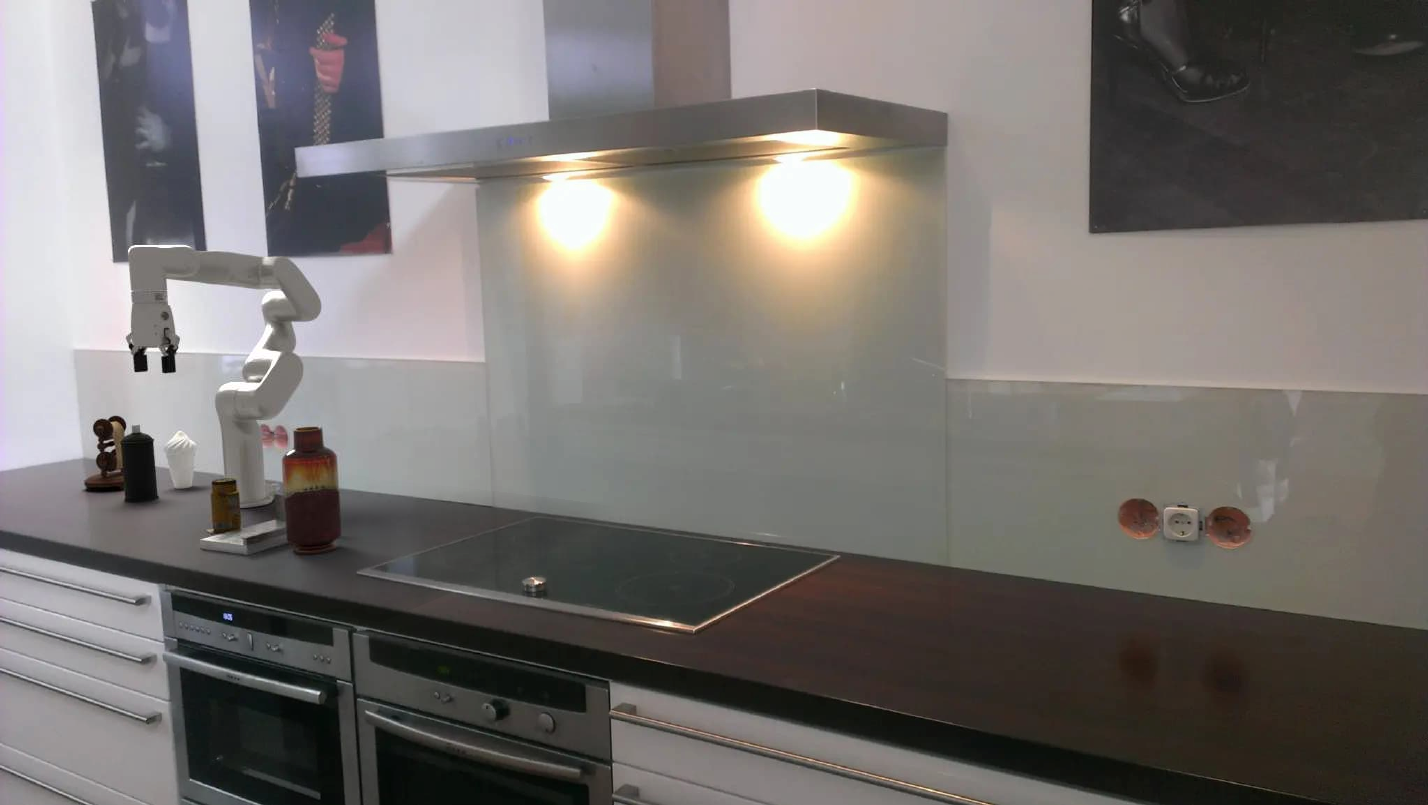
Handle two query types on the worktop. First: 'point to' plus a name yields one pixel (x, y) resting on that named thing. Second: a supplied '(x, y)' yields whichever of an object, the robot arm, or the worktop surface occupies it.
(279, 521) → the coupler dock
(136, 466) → the aerosol can
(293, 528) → the vase
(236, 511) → the condiment
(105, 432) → the brown wooden figurine
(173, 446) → the soft serve ice cream cone
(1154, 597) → the worktop surface
